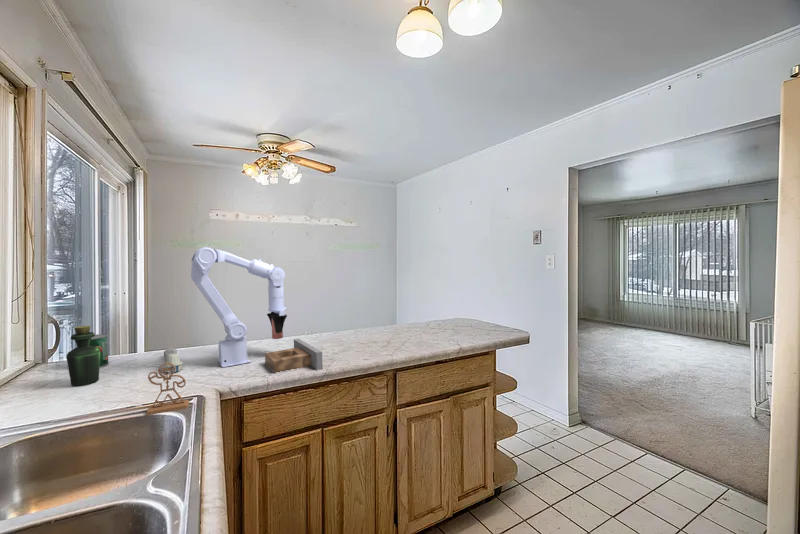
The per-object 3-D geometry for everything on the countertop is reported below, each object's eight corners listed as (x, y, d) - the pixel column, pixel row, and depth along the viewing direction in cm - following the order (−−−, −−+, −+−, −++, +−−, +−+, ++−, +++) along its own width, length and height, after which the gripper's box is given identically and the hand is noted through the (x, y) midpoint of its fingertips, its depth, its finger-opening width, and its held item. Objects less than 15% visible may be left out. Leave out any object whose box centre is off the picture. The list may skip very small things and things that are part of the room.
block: (274, 373, 117) (274, 361, 117) (265, 364, 127) (264, 353, 127) (310, 365, 124) (310, 354, 124) (299, 357, 134) (298, 347, 134)
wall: (317, 370, 119) (316, 352, 119) (294, 354, 139) (293, 339, 139) (322, 368, 120) (322, 351, 120) (299, 353, 140) (298, 338, 140)
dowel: (273, 339, 135) (273, 319, 135) (270, 337, 138) (270, 317, 138) (284, 337, 137) (283, 317, 137) (281, 336, 141) (280, 316, 140)
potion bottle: (108, 379, 114) (106, 324, 113) (80, 388, 106) (77, 329, 105) (89, 377, 115) (86, 323, 115) (60, 386, 108) (57, 329, 107)
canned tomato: (107, 361, 133) (106, 333, 133) (109, 366, 128) (108, 336, 127) (79, 366, 128) (78, 336, 127) (80, 371, 122) (79, 340, 122)
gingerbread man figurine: (189, 402, 94) (187, 358, 94) (187, 408, 91) (185, 362, 90) (149, 409, 91) (147, 363, 90) (146, 415, 87) (144, 368, 87)
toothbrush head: (177, 346, 140) (182, 350, 120) (178, 362, 140) (183, 370, 120) (161, 348, 137) (164, 353, 117) (162, 365, 137) (165, 373, 117)
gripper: (292, 298, 134) (293, 333, 134) (281, 294, 145) (282, 327, 146) (273, 299, 129) (274, 336, 130) (263, 296, 141) (264, 329, 142)
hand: (277, 331), depth 138 cm, fingers closed on dowel, 4 cm apart
